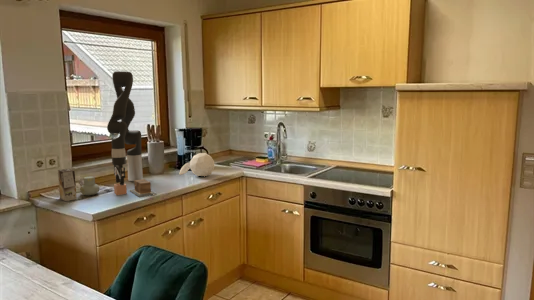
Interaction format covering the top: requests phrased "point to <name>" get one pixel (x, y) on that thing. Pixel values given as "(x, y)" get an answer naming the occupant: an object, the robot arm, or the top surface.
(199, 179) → the top surface
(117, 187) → the terracotta cube
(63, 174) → the coffee box
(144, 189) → the walnut block
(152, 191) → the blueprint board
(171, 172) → the top surface
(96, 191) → the air freshener
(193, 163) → the cream rounded faceted piece
